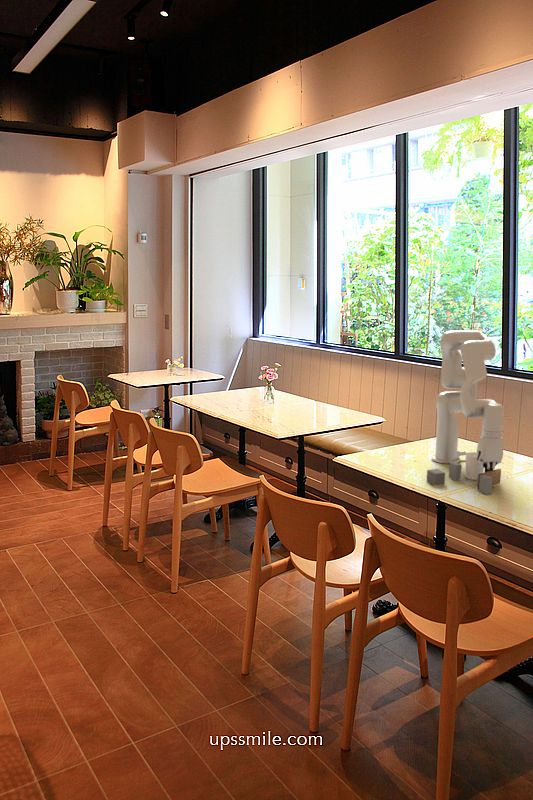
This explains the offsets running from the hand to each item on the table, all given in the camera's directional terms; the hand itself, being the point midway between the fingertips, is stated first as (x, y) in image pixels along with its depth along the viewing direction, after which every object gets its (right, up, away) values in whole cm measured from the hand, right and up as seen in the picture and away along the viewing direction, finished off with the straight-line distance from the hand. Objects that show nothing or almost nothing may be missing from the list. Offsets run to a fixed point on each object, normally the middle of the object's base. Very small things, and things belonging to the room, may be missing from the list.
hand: (488, 477), depth 304 cm
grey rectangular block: (-21, -2, +2) cm, 21 cm away
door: (-1, -3, -3) cm, 5 cm away
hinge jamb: (-4, -5, -10) cm, 12 cm away
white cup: (-3, -1, +10) cm, 11 cm away
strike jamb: (-12, -1, +8) cm, 14 cm away
